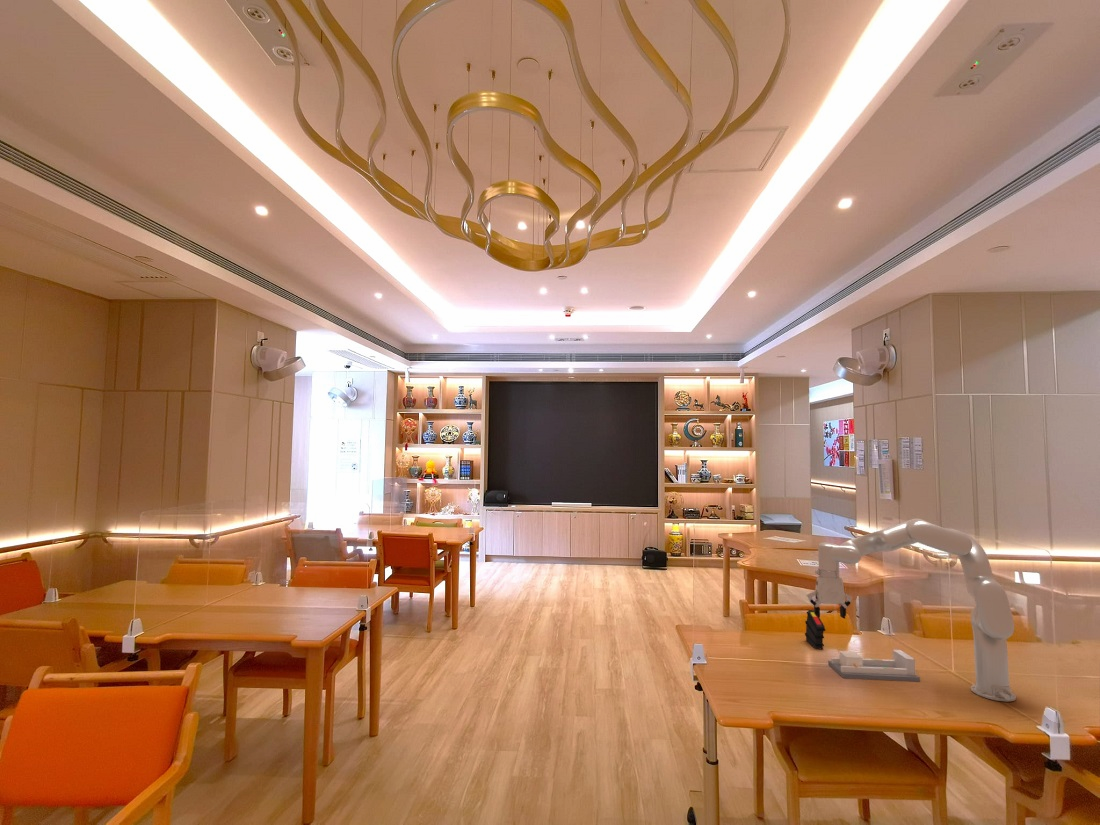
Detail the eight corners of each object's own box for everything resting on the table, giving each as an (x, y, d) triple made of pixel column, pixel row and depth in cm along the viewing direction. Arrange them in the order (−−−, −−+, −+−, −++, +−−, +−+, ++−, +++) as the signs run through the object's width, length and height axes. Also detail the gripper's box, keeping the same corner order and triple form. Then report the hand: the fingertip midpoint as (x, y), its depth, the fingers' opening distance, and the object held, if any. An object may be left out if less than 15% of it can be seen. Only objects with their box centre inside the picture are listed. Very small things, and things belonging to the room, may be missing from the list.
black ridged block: (810, 635, 256) (815, 609, 250) (822, 657, 243) (827, 630, 238) (802, 635, 256) (807, 609, 250) (813, 656, 244) (819, 630, 238)
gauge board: (919, 681, 208) (919, 661, 208) (843, 678, 211) (842, 658, 211) (900, 667, 222) (899, 648, 222) (828, 664, 224) (827, 645, 225)
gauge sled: (865, 673, 211) (865, 659, 212) (849, 672, 212) (849, 659, 212) (852, 662, 222) (852, 649, 223) (837, 661, 223) (836, 649, 223)
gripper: (810, 575, 218) (811, 618, 217) (855, 576, 216) (856, 620, 215) (803, 571, 226) (804, 613, 224) (847, 572, 224) (848, 615, 223)
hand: (830, 617), depth 220 cm, fingers open, 9 cm apart
